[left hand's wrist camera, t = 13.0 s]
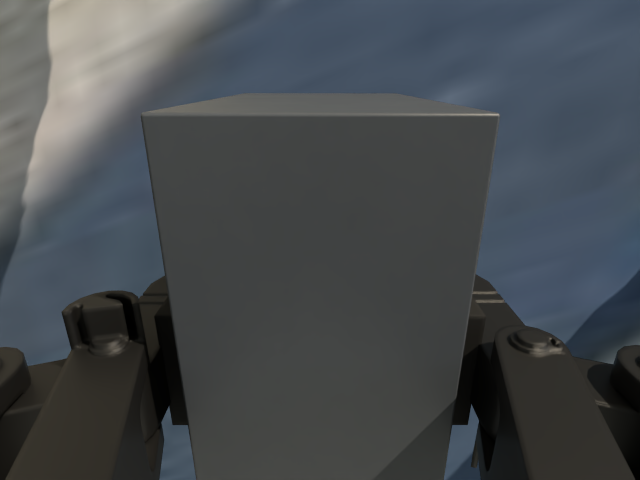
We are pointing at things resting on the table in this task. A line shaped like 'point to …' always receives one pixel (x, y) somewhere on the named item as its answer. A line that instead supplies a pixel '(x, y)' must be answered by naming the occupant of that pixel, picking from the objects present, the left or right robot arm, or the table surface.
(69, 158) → the table surface
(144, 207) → the table surface
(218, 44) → the table surface
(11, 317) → the table surface
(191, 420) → the beam
